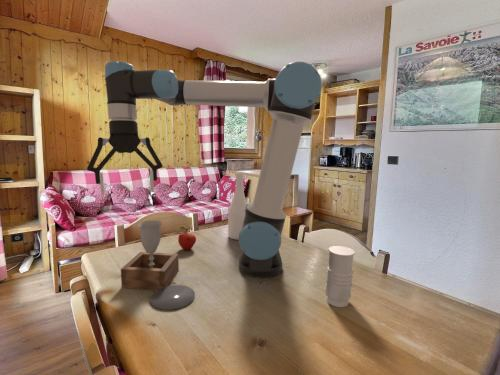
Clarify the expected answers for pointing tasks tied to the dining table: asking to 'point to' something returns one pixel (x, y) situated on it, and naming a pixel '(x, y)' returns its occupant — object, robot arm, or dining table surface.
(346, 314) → the dining table surface
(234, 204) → the wine bottle
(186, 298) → the coaster
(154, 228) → the chalice
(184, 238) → the apple
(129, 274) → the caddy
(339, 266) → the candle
